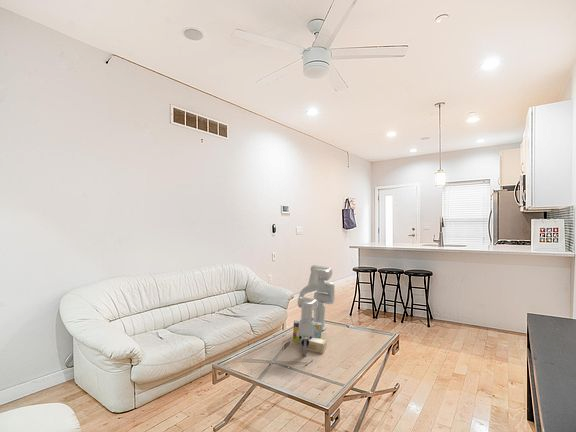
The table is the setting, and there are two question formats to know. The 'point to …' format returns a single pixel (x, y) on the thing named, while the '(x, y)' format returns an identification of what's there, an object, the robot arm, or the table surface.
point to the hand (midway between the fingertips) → (305, 345)
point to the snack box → (296, 339)
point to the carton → (316, 344)
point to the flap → (304, 347)
